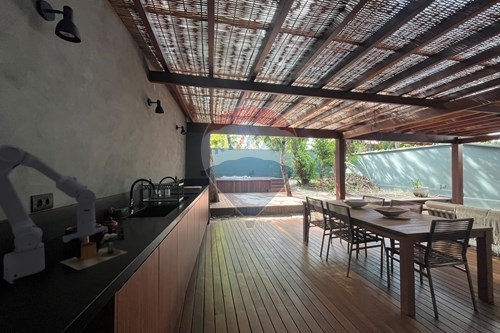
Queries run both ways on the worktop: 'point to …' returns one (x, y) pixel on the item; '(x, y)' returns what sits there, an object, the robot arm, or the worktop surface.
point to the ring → (88, 250)
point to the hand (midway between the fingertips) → (87, 254)
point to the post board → (100, 257)
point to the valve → (114, 235)
